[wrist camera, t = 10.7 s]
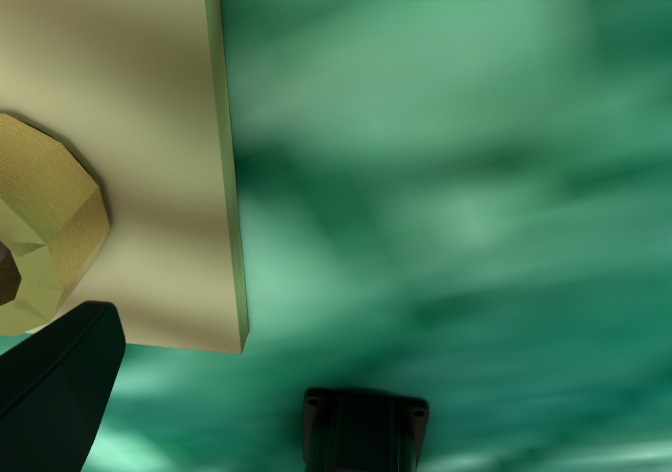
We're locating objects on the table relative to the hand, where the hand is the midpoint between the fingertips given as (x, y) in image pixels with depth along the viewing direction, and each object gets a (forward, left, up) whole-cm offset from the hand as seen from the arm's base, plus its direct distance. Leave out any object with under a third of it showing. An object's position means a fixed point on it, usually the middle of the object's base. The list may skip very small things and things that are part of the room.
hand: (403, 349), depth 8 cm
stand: (-5, +14, -12) cm, 19 cm away
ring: (-5, +14, -10) cm, 18 cm away
